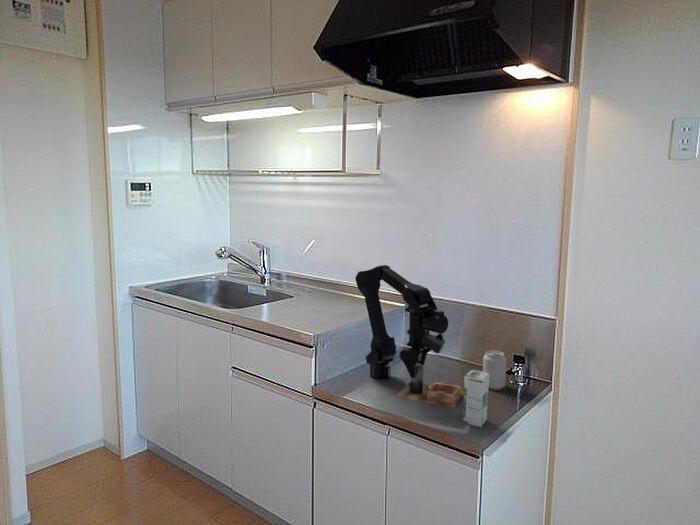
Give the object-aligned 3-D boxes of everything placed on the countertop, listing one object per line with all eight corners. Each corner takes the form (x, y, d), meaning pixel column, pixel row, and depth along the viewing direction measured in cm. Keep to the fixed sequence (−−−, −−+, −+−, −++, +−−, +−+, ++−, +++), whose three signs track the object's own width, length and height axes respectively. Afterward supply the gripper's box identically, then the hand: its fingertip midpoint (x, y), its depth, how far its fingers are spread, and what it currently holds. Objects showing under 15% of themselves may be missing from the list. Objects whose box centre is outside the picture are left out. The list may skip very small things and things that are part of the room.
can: (493, 392, 172) (494, 357, 171) (477, 384, 179) (478, 351, 177) (509, 388, 176) (511, 354, 174) (494, 381, 182) (495, 348, 181)
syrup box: (468, 415, 155) (469, 369, 153) (487, 420, 152) (489, 372, 150) (461, 423, 150) (463, 375, 148) (482, 428, 147) (484, 378, 145)
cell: (409, 392, 169) (409, 364, 168) (413, 388, 173) (413, 360, 172) (421, 394, 168) (421, 366, 166) (424, 390, 171) (425, 362, 170)
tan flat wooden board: (395, 399, 166) (395, 387, 166) (409, 385, 179) (409, 373, 178) (453, 410, 158) (454, 397, 158) (464, 394, 171) (464, 382, 170)
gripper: (434, 337, 156) (432, 387, 158) (450, 322, 172) (448, 367, 174) (399, 332, 160) (398, 381, 163) (417, 319, 177) (417, 363, 179)
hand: (417, 373), depth 170 cm, fingers open, 9 cm apart
